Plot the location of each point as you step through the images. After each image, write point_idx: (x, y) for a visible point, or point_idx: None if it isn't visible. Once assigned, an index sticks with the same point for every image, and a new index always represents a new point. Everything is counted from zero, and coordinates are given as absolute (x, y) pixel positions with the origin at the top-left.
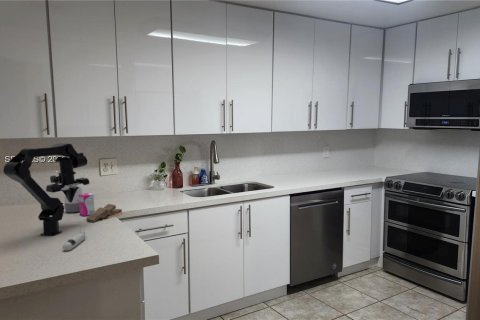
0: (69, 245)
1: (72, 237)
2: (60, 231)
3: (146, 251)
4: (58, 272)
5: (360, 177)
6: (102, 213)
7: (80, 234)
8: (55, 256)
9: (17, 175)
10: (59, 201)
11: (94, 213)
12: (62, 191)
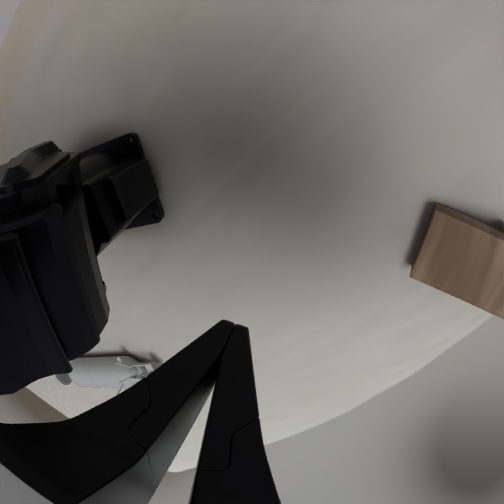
0: (64, 381)
1: (83, 377)
2: (145, 224)
3: (173, 467)
4: (30, 386)
5: None
6: (485, 305)
7: (114, 387)
8: None
9: None
10: (23, 378)
11: (490, 256)
12: (46, 429)
